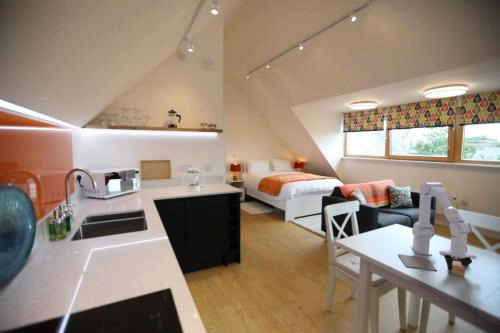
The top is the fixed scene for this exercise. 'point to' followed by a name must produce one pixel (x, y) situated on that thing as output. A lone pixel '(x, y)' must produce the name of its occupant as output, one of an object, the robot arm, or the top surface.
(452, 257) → the supplement bottle
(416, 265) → the charcoal mat
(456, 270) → the wooden cube
